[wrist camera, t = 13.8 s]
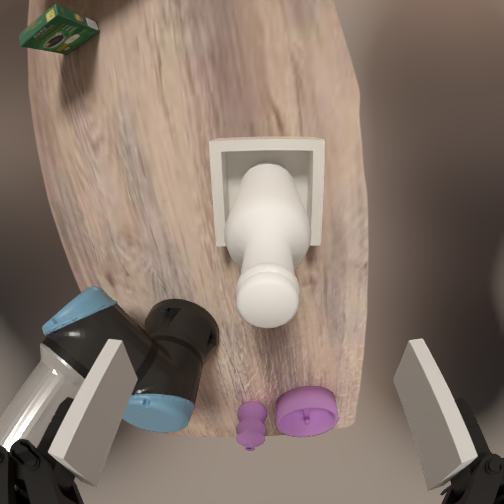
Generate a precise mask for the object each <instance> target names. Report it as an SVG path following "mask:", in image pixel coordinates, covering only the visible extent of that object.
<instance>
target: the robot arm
mask: <svg viewBox="0 0 504 504" xmlns="http://www.w3.org/2000/svg"><path fill="white" fill-rule="evenodd" d="M42 330H43V333H44V335H47V337H46V338H45V339H44V341H43V342H42V343H41V345H40V349H41V361H40V363H39V364H38V365H37V367H36V368H35V369H34V371H33V372H32V373H31V375H30V376H29V378H28V379H27V380H26V382H25V383H24V384H23V386H22V387H21V389H20V390H19V392H18V393H17V395H16V396H15V397H14V399H13V400H12V402H11V403H10V405H9V406H8V408H7V409H6V410H5V412H4V414H3V415H2V417H1V418H0V504H84V503H83V500H82V498H81V496H80V493H79V490H78V488H77V485H76V484H75V482H74V478H75V477H77V478H78V479H79V480H80V481H82V482H84V483H87V484H89V485H92V486H95V487H97V484H98V481H99V478H100V476H101V473H102V470H103V467H104V464H105V461H106V459H107V456H108V453H109V450H110V448H111V445H112V442H113V440H114V437H115V435H116V432H117V429H118V427H119V424H120V421H121V419H124V420H125V421H126V422H128V423H130V424H132V425H134V426H136V427H139V428H141V429H144V430H148V431H153V432H160V433H170V432H176V431H179V430H182V429H183V428H185V427H186V426H187V425H188V423H189V421H190V418H191V415H192V412H193V410H194V408H195V400H196V396H197V391H198V386H199V382H200V377H201V372H202V368H203V365H204V364H205V363H206V361H207V360H208V359H209V358H210V356H211V355H212V354H213V352H214V351H215V349H216V347H217V343H218V338H219V329H218V326H217V323H216V321H215V320H214V318H213V317H212V316H211V315H210V314H209V313H208V312H207V311H206V310H205V309H203V308H202V307H200V306H199V305H197V304H195V303H192V302H189V301H186V300H181V299H169V300H164V301H161V302H159V303H157V304H156V305H155V306H154V307H153V308H152V309H151V310H150V312H149V314H148V316H147V318H146V321H145V330H143V329H142V328H141V327H140V326H139V325H138V324H137V323H136V322H135V321H134V320H133V319H132V318H131V317H130V316H129V315H128V314H127V313H126V312H125V311H124V310H123V309H122V308H121V307H120V306H119V305H118V304H117V301H114V300H113V299H112V298H111V297H110V296H108V295H107V294H106V293H105V292H104V291H103V290H102V289H101V288H100V287H97V286H91V287H88V288H87V289H86V290H84V291H83V292H82V293H81V294H79V295H78V296H77V297H76V298H75V299H73V300H72V301H71V302H70V303H68V304H67V305H66V306H65V307H64V308H63V309H61V310H60V311H59V312H58V313H57V314H56V315H55V316H54V317H52V318H51V319H50V320H49V321H48V322H47V323H46V324H44V325H43V327H42ZM393 381H394V383H395V386H396V389H397V392H398V394H399V397H400V400H401V403H402V406H403V408H404V411H405V414H406V417H407V420H408V423H409V426H410V430H411V433H412V436H413V439H414V442H415V446H416V449H417V452H418V456H419V459H420V463H421V466H422V470H423V473H424V477H425V481H426V484H427V489H428V491H429V490H432V489H435V488H438V487H440V486H443V485H444V484H446V483H447V482H448V481H451V485H450V486H449V487H447V488H446V489H445V490H443V492H442V493H441V495H443V494H445V493H446V492H447V493H446V495H445V498H444V500H443V502H442V504H504V458H501V457H500V456H498V455H497V454H492V453H491V452H490V450H489V448H488V446H487V443H486V441H485V438H484V436H483V434H482V431H481V429H480V427H479V425H478V424H477V420H476V418H475V417H474V414H473V412H472V409H471V407H470V406H469V404H468V403H467V402H466V401H465V400H464V399H463V398H459V399H456V400H454V399H453V397H452V394H451V392H450V390H449V388H448V386H447V384H446V382H445V380H444V378H443V376H442V374H441V372H440V370H439V368H438V366H437V365H436V363H435V361H434V359H433V357H432V355H431V353H430V351H429V349H428V348H427V346H426V344H425V342H424V340H423V339H415V340H409V341H408V344H407V347H406V349H405V352H404V354H403V357H402V359H401V362H400V364H399V367H398V370H397V372H396V374H395V376H394V379H393Z"/></svg>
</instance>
